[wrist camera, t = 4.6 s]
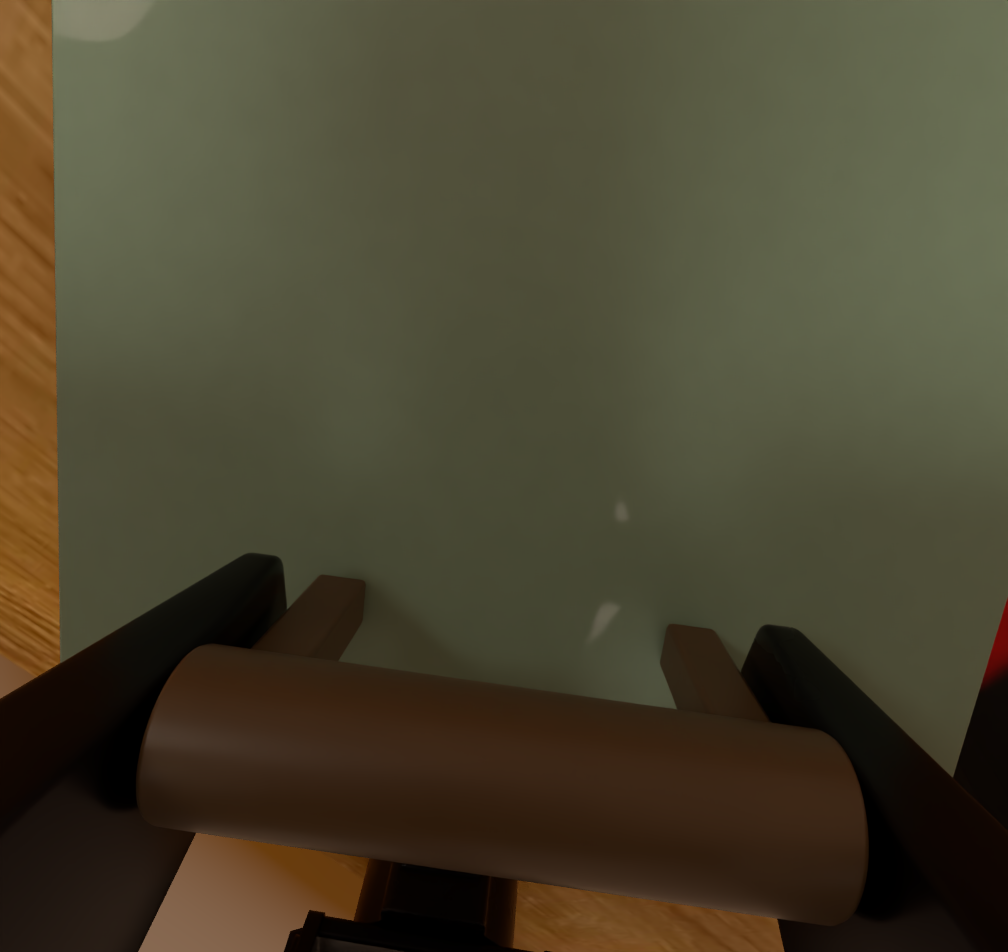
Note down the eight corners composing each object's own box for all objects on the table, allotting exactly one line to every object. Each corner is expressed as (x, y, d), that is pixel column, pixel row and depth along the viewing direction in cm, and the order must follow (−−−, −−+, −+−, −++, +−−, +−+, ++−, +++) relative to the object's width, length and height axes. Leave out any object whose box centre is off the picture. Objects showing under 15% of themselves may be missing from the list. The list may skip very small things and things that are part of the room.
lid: (917, 779, 10) (1245, 1155, 6) (89, 660, 11) (-277, 923, 6) (1172, -92, 8) (2152, -760, 3) (86, -217, 8) (-550, -1008, 3)
